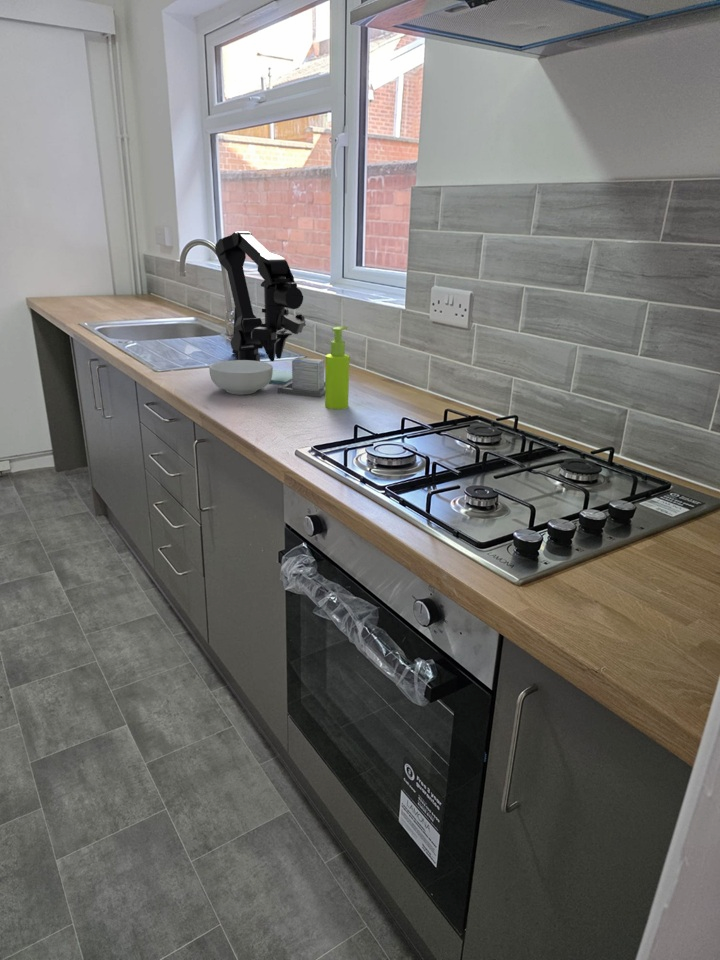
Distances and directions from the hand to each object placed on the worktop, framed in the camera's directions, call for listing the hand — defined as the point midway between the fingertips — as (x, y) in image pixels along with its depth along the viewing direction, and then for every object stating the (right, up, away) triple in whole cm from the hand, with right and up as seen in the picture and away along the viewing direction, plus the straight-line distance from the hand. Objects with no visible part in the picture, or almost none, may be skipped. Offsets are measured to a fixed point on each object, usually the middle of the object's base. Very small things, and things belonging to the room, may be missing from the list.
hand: (275, 359), depth 189 cm
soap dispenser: (+19, -17, -24) cm, 34 cm away
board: (0, -5, +2) cm, 6 cm away
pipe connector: (-14, +8, +35) cm, 38 cm away
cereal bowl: (-8, -11, -12) cm, 18 cm away
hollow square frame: (+10, -10, -10) cm, 18 cm away
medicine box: (+10, -11, -10) cm, 18 cm away
